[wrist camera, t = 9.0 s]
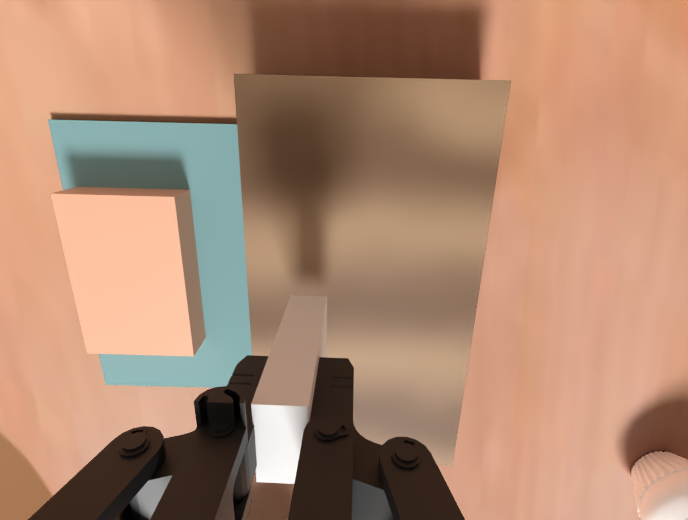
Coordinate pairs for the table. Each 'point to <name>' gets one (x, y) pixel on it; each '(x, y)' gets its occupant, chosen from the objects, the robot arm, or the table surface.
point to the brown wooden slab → (374, 230)
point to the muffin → (661, 486)
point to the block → (133, 269)
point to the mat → (209, 226)
